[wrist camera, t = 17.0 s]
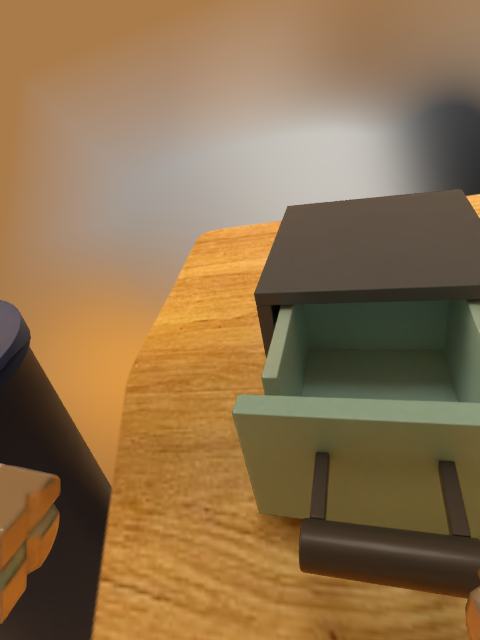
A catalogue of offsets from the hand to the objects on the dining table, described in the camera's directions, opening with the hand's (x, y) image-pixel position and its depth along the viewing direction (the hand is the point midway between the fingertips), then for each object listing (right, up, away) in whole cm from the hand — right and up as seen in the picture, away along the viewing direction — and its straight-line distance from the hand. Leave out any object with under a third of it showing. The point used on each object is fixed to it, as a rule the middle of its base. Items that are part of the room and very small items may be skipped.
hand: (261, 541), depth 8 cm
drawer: (+8, -4, +16) cm, 18 cm away
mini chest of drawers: (+10, +2, +26) cm, 28 cm away
